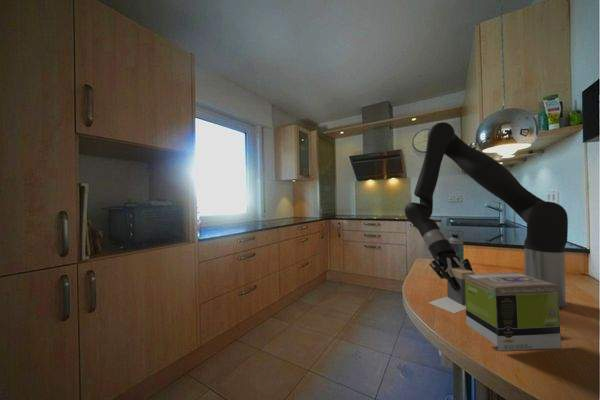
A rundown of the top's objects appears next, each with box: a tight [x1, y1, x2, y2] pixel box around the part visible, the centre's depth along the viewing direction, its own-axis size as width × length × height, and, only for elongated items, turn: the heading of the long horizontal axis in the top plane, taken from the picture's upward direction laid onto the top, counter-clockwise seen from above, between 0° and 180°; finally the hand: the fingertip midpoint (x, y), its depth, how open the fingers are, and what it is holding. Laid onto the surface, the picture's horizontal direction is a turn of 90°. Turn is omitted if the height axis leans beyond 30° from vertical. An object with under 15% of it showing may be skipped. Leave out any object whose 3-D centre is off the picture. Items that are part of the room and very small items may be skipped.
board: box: [427, 295, 466, 314], centre depth 74 cm, size 14×8×1 cm, turn 117°
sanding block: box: [446, 268, 476, 305], centre depth 76 cm, size 4×6×10 cm
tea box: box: [465, 272, 562, 352], centre depth 57 cm, size 15×10×15 cm, turn 92°
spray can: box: [447, 233, 465, 260], centre depth 95 cm, size 6×6×20 cm
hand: (465, 289), depth 74 cm, fingers closed on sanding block, 4 cm apart
